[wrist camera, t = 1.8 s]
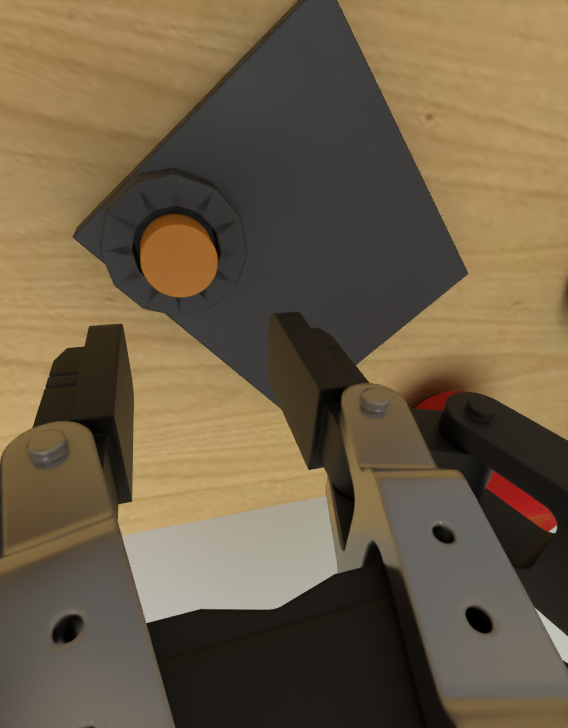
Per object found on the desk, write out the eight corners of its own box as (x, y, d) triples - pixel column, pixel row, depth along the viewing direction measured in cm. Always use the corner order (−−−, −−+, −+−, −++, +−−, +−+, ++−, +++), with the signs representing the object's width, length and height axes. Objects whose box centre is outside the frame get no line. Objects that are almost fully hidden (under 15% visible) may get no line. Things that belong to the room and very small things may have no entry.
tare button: (124, 248, 17) (122, 262, 16) (176, 197, 16) (179, 207, 15) (178, 295, 19) (181, 311, 17) (226, 250, 18) (233, 263, 17)
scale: (75, 228, 18) (66, 249, 16) (313, -16, 16) (343, -34, 14) (285, 404, 28) (299, 434, 25) (454, 265, 25) (487, 283, 23)
